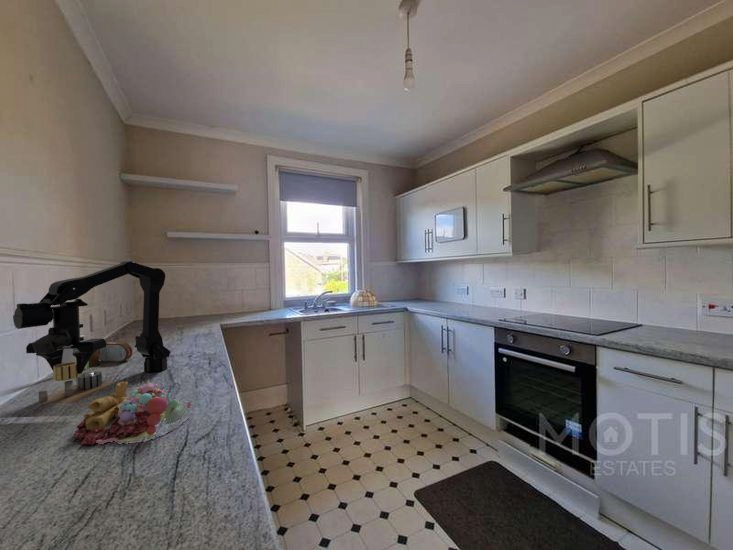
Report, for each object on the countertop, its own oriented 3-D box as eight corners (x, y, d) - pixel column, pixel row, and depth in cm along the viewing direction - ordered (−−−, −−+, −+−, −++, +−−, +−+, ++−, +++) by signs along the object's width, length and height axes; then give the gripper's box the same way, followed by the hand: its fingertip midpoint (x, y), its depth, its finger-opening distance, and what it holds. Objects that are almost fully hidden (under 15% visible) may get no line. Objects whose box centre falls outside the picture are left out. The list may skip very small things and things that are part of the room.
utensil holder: (87, 368, 124) (86, 338, 124) (75, 367, 125) (74, 337, 125) (102, 363, 130) (101, 335, 129) (90, 362, 131) (89, 334, 131)
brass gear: (88, 373, 97) (87, 360, 97) (70, 380, 91) (69, 367, 91) (67, 373, 97) (66, 361, 97) (48, 381, 91) (47, 367, 91)
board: (118, 385, 106) (117, 368, 106) (76, 406, 90) (76, 386, 90) (81, 386, 105) (80, 369, 105) (33, 407, 89) (32, 387, 89)
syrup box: (72, 377, 114) (71, 337, 114) (60, 375, 115) (58, 337, 115) (89, 371, 120) (88, 334, 119) (77, 370, 121) (76, 333, 121)
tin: (133, 360, 134) (132, 341, 134) (126, 363, 131) (126, 343, 130) (101, 360, 135) (100, 340, 135) (94, 362, 132) (93, 342, 132)
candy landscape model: (46, 453, 68) (45, 411, 68) (115, 405, 91) (114, 374, 91) (171, 442, 72) (170, 402, 71) (206, 399, 95) (206, 369, 95)
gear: (107, 382, 105) (106, 369, 105) (91, 390, 99) (91, 376, 98) (87, 383, 104) (87, 370, 104) (71, 390, 98) (70, 376, 98)
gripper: (3, 328, 85) (6, 385, 85) (75, 327, 86) (77, 383, 86) (44, 321, 96) (46, 371, 97) (106, 320, 97) (108, 369, 98)
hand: (68, 373), depth 94 cm, fingers closed on brass gear, 6 cm apart
